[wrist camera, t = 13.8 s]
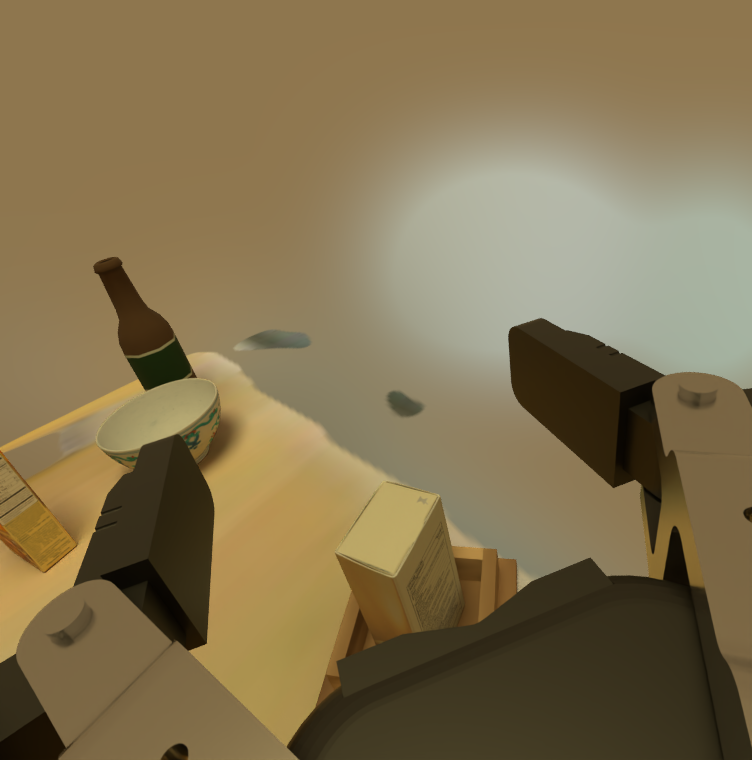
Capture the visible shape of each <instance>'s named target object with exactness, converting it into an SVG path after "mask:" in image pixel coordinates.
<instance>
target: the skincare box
mask: <svg viewBox="0 0 752 760" xmlns="http://www.w3.org/2000/svg"><path fill="white" fill-rule="evenodd" d="M335 554H336V556H337V559H338V561H339V563H340V565H341V567H342V570H343V572H344V574H345V576H346V579H347V581H348V583H349V585H350V588H351V590H352V592H353V594H354V597H355V599H356V601H357V603H358V606H359V608H360V610H361V612H362V615H363V617H364V619H365V621H366V623H367V626H368V628H369V630H370V632H371V635H372V637H373V639H374V642H375V644H376V645H377V644H380V643H382V642H385V641H387V640H390V639H392V638H394V637H397V636H399V635H402V634H407V633H415V632H423V631H430V630H438V629H445V628H453V627H457V624H458V621H459V619H460V616H461V613H462V611H463V608H464V605H465V602H464V598H463V593H462V589H461V585H460V581H459V576H458V572H457V567H456V563H455V559H454V555H453V550H452V546H451V541H450V537H449V532H448V528H447V524H446V520H445V515H444V511H443V507H442V502H441V498H440V495H438V494H435V493H430V492H428V491H424V490H420V489H417V488H413V487H410V486H406V485H402V484H398V483H393V482H389V481H383V482H382V483H381V485H380V486H379V487H378V488H377V490H376V491H375V492H374V494H373V495H372V496H371V498H370V499H369V500H368V502H367V504H366V505H365V506H364V508H363V509H362V511H361V512H360V514H359V515H358V517H357V518H356V520H355V521H354V523H353V524H352V526H351V527H350V529H349V530H348V532H347V533H346V535H345V537H344V538H343V539H342V541H341V543H340V544H339V546H338V547H337V549H336V550H335Z"/></svg>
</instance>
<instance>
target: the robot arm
mask: <svg viewBox="0 0 752 760" xmlns="http://www.w3.org/2000/svg"><path fill="white" fill-rule="evenodd" d="M508 337H509V338H508V340H509V355H510V370H511V383H512V388H513V391H514V394H515V396H516V398H517V400H518V402H519V403H520V404H521V405H522V407H524V408H525V409H526V410H527V411H528V412H529V413H530V414H531V415H532V416H534V417H535V418H536V419H537V420H538V421H539V422H540V423H541V424H542V425H544V426H545V427H546V428H547V429H548V430H549V431H550V432H551V433H553V434H554V435H555V436H556V437H557V438H558V439H559V440H560V441H561V442H563V443H564V444H565V445H566V446H567V447H568V448H569V449H571V451H573V452H574V453H575V454H576V455H577V456H578V457H579V458H580V459H582V460H583V461H584V462H585V463H586V464H587V465H588V466H589V467H590V468H592V469H593V470H594V471H595V472H596V473H597V474H598V475H599V476H601V477H602V478H603V479H604V480H605V481H606V482H607V483H608V484H610V485H611V486H612V487H613V488H615V487H617V486H620V485H623V484H625V483H628V482H630V481H633V480H636V481H638V482H639V483H640V484H641V492H640V501H641V509H642V519H643V527H644V535H645V543H646V552H647V560H648V570H649V577H641V576H606V575H605V574H604V573H603V572H602V570H601V569H600V568H599V567H598V566H597V565H596V563H595V562H594V561H593V560H592V559H591V558H588V559H586V560H583V561H581V562H578V563H576V564H573V565H571V566H568V567H566V568H564V569H561V570H559V571H556V572H554V573H551V574H549V575H546V576H544V577H541V578H539V579H537V580H534V581H532V582H530V583H529V584H528V585H527V586H525V587H524V588H523V589H521V590H520V591H519V592H518V593H516V594H515V595H514V596H513V597H511V598H510V599H509V600H507V601H506V602H505V603H504V604H502V605H501V606H500V607H499V608H497V609H496V610H495V611H493V612H492V613H491V614H490V615H488V616H487V617H486V618H484V619H483V620H482V621H480V622H478V623H476V624H473V625H468V626H460V627H453V628H445V629H438V630H430V631H423V632H415V633H407V634H402V635H399V636H397V637H394V638H392V639H390V640H387V641H385V642H382V643H380V644H377V645H375V646H372V647H370V648H367V649H365V650H363V651H360V652H358V653H355V654H353V655H350V656H348V657H345V658H343V659H341V660H338V661H336V663H337V668H338V673H339V678H340V683H341V685H340V686H339V687H338V688H337V689H335V690H334V691H333V692H332V693H330V694H329V695H328V696H327V697H326V698H325V699H324V700H323V701H322V702H321V703H320V704H319V705H318V706H317V707H316V708H315V709H314V710H313V711H312V712H311V714H310V715H309V716H308V717H307V718H306V720H305V721H304V722H303V723H302V724H301V726H300V727H299V729H298V730H297V732H296V733H295V735H294V736H293V738H292V739H291V740H290V742H289V744H288V745H287V747H286V746H285V745H284V744H282V743H281V742H280V741H279V740H278V739H277V738H276V737H275V736H274V735H273V734H272V733H271V732H270V731H269V730H268V729H267V728H266V727H265V726H264V725H263V724H262V723H261V722H260V721H259V720H258V719H257V718H256V717H255V716H254V715H253V714H252V713H251V712H250V711H249V710H248V709H247V708H246V707H245V706H244V705H243V704H242V703H241V702H240V701H239V700H238V699H237V698H236V697H234V696H233V695H232V694H231V693H230V692H229V691H228V690H227V689H226V688H225V687H224V686H223V685H222V684H221V683H220V682H219V681H218V680H217V679H216V678H215V677H214V676H213V675H212V674H211V673H210V672H209V671H208V670H207V669H206V668H205V667H204V666H203V665H202V664H201V663H200V662H199V661H198V660H197V659H196V658H195V657H194V656H193V655H192V654H191V653H190V652H189V650H192V649H194V648H197V647H200V646H202V645H205V644H207V629H208V613H209V596H210V579H211V562H212V545H213V528H214V503H213V498H212V495H211V491H210V489H209V486H208V484H207V482H206V480H205V479H204V477H203V475H202V473H201V471H200V469H199V467H198V465H197V463H196V461H195V459H194V458H193V456H192V454H191V452H190V450H189V448H188V446H187V444H186V442H185V441H184V439H183V438H182V437H181V436H180V435H179V434H175V435H172V436H169V437H166V438H163V439H160V440H157V441H154V442H151V443H147V444H144V445H142V447H141V449H140V452H139V455H138V458H137V461H136V464H135V467H134V470H133V472H131V473H127V474H124V475H123V476H122V477H121V479H120V480H119V481H118V482H117V483H116V485H115V486H114V487H113V488H112V489H111V491H110V492H109V493H108V495H107V497H106V500H105V503H104V505H103V508H102V511H101V515H102V516H100V517H99V519H98V522H97V524H96V527H95V530H96V532H94V533H93V535H92V538H91V540H90V543H89V546H88V548H87V551H86V554H85V556H84V559H83V562H82V565H81V567H80V570H79V573H78V575H77V578H76V581H75V583H74V586H73V587H72V588H70V589H68V590H67V591H65V592H64V593H62V594H60V595H59V596H58V597H56V598H55V599H53V600H52V601H51V602H50V603H49V604H47V605H46V606H45V607H44V608H43V609H42V610H41V611H40V612H39V613H38V614H37V615H36V616H35V617H34V619H33V620H32V621H31V622H30V624H29V625H28V626H27V628H26V629H25V631H24V633H23V634H22V636H21V638H20V641H19V643H18V646H17V651H16V654H15V655H13V656H11V657H10V658H8V659H7V660H5V661H3V662H2V663H0V760H752V388H751V389H741V388H740V387H739V386H738V385H736V384H735V383H733V382H731V381H729V380H727V379H724V378H722V377H719V376H715V375H711V374H706V373H695V372H684V373H675V374H670V375H667V376H665V375H663V374H661V373H659V372H657V371H656V370H654V369H652V368H650V367H648V366H646V365H644V364H642V363H640V362H638V361H636V360H635V359H633V358H631V357H629V356H627V355H625V354H623V353H621V354H620V353H619V351H617V350H616V349H614V348H612V347H610V346H605V344H604V343H602V342H600V341H599V340H597V339H595V338H593V337H591V336H589V335H585V334H581V333H576V332H572V331H565V330H563V329H561V328H560V327H558V326H556V325H554V324H552V323H550V322H549V321H547V320H545V319H542V318H540V319H536V320H534V321H530V322H527V323H524V324H521V325H518V326H514V327H512V328H511V329H510V331H509V336H508Z"/></svg>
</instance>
